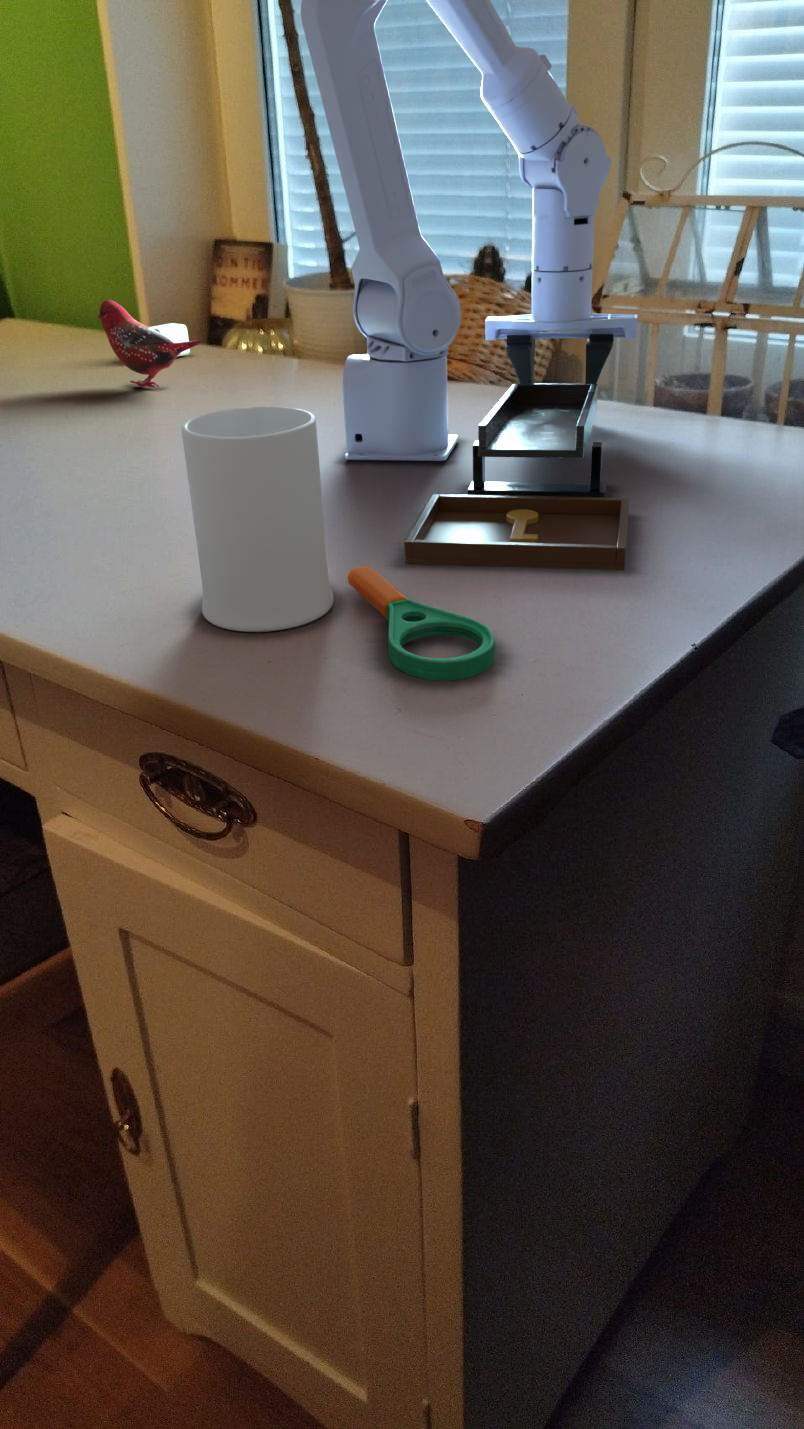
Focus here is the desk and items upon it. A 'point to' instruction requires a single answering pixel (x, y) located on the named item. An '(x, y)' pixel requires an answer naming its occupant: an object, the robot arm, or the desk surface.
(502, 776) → the desk surface
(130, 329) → the decorative bird figurine
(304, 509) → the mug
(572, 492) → the stand
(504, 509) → the tray
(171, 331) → the usb wall charger
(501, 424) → the dark sloped chute
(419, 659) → the magnifying glass
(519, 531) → the key
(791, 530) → the desk surface
